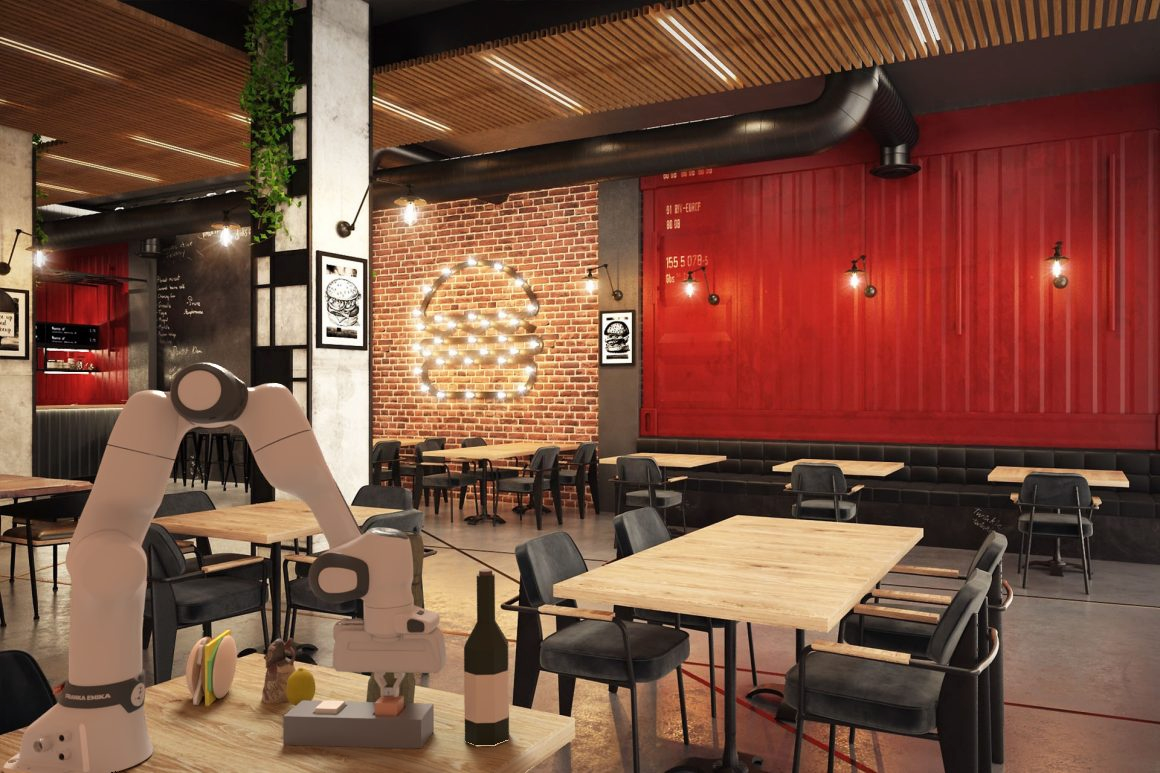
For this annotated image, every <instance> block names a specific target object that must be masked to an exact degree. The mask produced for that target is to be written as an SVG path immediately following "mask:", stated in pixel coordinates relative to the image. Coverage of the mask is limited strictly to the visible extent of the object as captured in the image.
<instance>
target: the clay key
mask: <svg viewBox="0 0 1160 773" xmlns="http://www.w3.org/2000/svg"><path fill="white" fill-rule="evenodd" d="M403 710H404V696H397V697H380V698H379V699H378V700H377V701H376V702H375V715H386V716H399V714H400V713H401V712H402V711H403Z"/></svg>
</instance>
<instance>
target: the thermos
mask: <svg viewBox="0 0 1160 773" xmlns="http://www.w3.org/2000/svg"><path fill="white" fill-rule="evenodd" d="M401 531H402V532H404V533H405V534H406V535H407V536H408V538H409V540H410V543H411V549H412V557H413V580H412V585H411V590H412V595H413V598H414V605H415V606H418V607H420V608H423V602H424V595H423V591H422V580H421V579H422V578H421V577H422V575H423V568H424V567H423V566H424V557H425V546H424V540H423V536H422V535H421V534H419V532H417V531H413V530H411V531H410V530H401ZM383 677H384V679H385V681H386V683H387V684H395V682H396V680H397V678H394V673H393V672H385V675H384V676H383ZM366 691H367V692H366V700H365V702H376V701H377V700H378V699H379V698H380V697H381V687H379V685H378V684H377V682H376V680H375V679H374V672H371V674H370V676H369V679H368V682H367V690H366ZM415 692H416V678H415V673H405V676H404V678H403V680H402V681H401V683H400V685H399V695H398V696H404V703H415Z"/></svg>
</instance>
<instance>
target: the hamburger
mask: <svg viewBox="0 0 1160 773" xmlns="http://www.w3.org/2000/svg"><path fill="white" fill-rule="evenodd" d="M237 655H238V653H237V645H236V642H235V640H234V638H233V637H232V630H231V629H226V630H225V631H223V632H222V633H221V634H220V635H218V636H214V637H212V638H211V637H210V636H205V637H202V638H200V639H199V640H198V641H197V642H196V644H194V646H193V647H192V649H191V650H190V653H189V656H188V659H187V663H186V666H185V667H186V668H185V681H186V687H187V689H188V691H189V693H190V694H191V695H192V697H193V698H192V705H193V706H199V705H200V702H201V701H202V699H203V695H204V706H205V707H209V706H211V705H212V704H213V703H214V702H215V701H216V700H218V699H223V698H224V697H225V696H226V695H227V693H228V692H229V690H230V688H231V687H232V684H233V681H234V678H235V674H236V671H237V661H238V660H237V659H238V656H237ZM213 701H214V702H213ZM212 702H213V703H212ZM211 703H212V704H211ZM198 704H199V705H198Z"/></svg>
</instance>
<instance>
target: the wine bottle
mask: <svg viewBox="0 0 1160 773" xmlns="http://www.w3.org/2000/svg"><path fill="white" fill-rule="evenodd" d="M495 576H496V574H495V573H493V569H492V568H481V569H479V570H478V573H476V623H475V625H474V627H473V628H472V630H471V632H470V634H469V636H468V638H467V639H466V641H465V644H464V646H463V682H464V683H463V686H464V691H463V694H464V703H463V704H464V742H465V741H466V742H469V743H472V744H474V745H495V744H497V743H500V742H503V741H505V740H508V739H510V687H509V685H510V680H509V679H510V678H509V676H510V675H509V674H510V673H509V671H510V670H509V663H510V661H509V640H508V639H507V637H506V636H505V634H504V632H503V630H502V629H501V627H500V626H499V624H498V623H497V621H496V587H495V586H496V583H495V582H496V581H495V580H496V578H495Z"/></svg>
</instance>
